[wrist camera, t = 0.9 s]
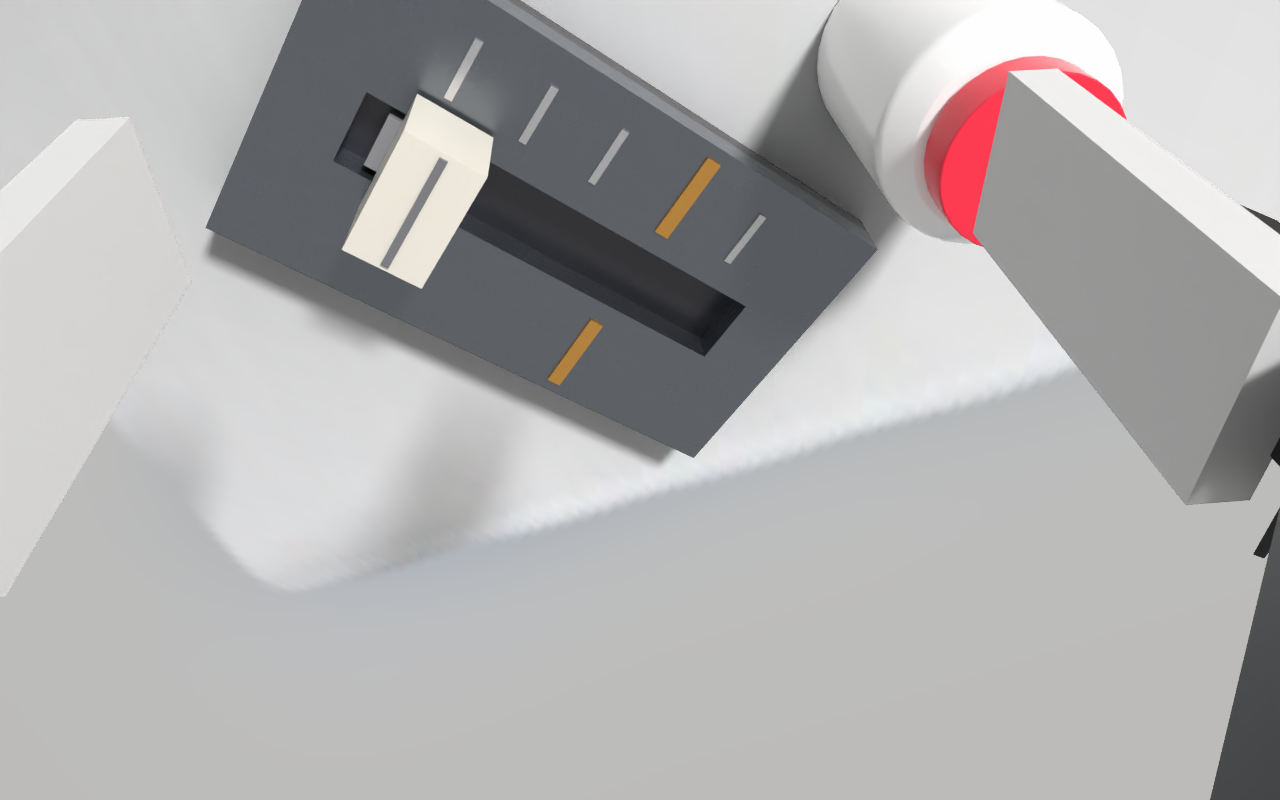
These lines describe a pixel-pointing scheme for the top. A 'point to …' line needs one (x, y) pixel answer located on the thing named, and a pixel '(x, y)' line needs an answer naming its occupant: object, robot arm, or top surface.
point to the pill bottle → (945, 91)
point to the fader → (418, 189)
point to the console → (547, 210)
